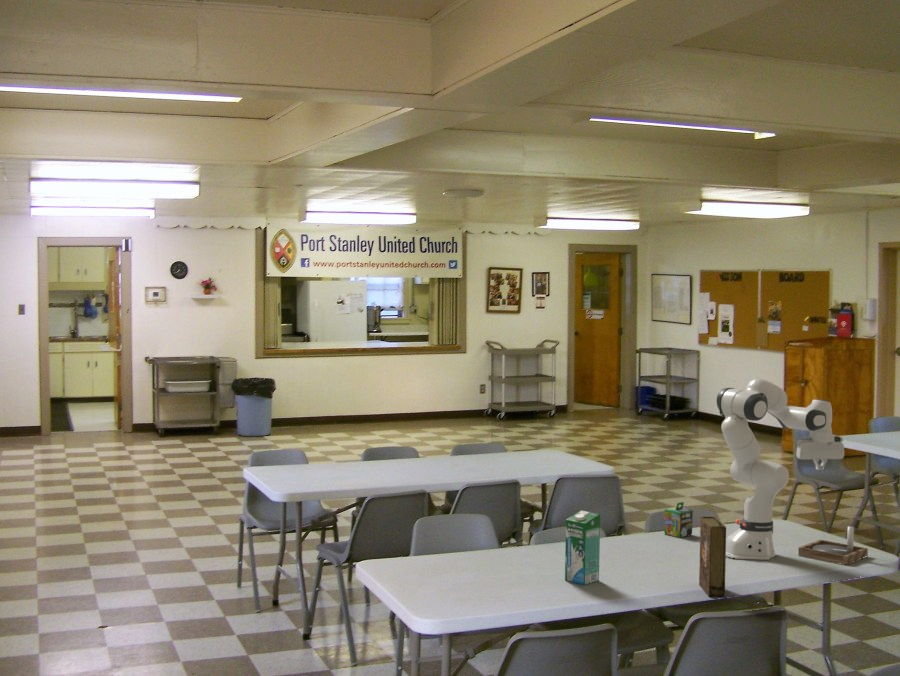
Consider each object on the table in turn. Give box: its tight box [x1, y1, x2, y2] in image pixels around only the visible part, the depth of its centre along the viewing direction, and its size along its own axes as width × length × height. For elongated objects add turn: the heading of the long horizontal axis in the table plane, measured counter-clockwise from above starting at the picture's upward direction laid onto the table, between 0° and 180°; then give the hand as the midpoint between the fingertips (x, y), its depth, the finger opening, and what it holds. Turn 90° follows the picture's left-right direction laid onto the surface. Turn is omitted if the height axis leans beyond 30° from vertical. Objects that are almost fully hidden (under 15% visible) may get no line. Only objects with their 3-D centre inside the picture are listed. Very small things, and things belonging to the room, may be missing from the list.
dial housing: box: [798, 539, 869, 565], centre depth 403 cm, size 20×20×4 cm
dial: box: [812, 525, 855, 555], centre depth 403 cm, size 16×16×11 cm
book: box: [698, 516, 727, 597], centre depth 352 cm, size 16×6×25 cm, turn 179°
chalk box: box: [663, 501, 694, 538], centre depth 438 cm, size 9×9×15 cm
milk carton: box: [564, 510, 601, 586], centre depth 363 cm, size 9×9×25 cm
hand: (819, 469), depth 418 cm, fingers closed
